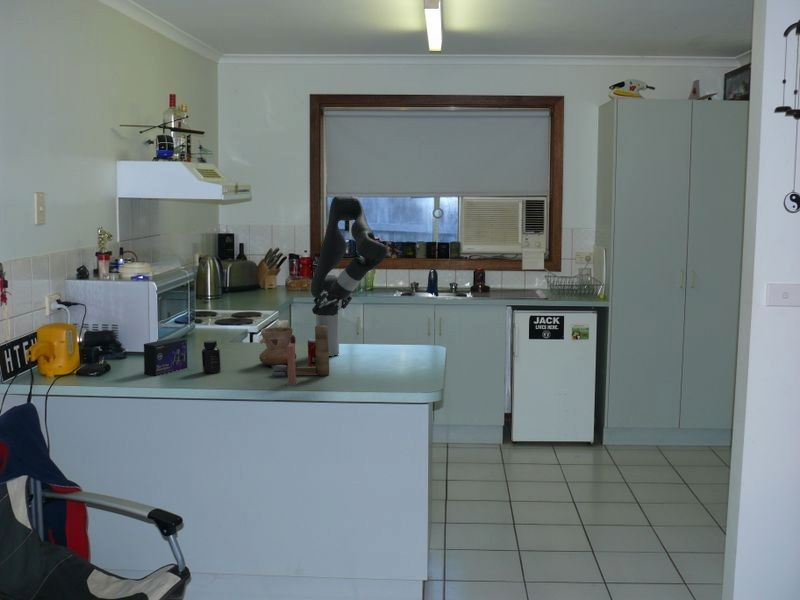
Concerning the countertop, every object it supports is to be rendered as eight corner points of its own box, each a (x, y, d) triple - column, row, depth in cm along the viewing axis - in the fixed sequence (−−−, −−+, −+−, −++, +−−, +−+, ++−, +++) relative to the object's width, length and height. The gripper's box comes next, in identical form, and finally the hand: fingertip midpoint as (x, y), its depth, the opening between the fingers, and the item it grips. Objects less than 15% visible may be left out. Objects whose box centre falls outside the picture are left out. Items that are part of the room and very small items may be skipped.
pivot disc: (272, 374, 335) (272, 368, 335) (288, 373, 335) (288, 368, 335) (270, 377, 330) (270, 372, 329) (286, 377, 330) (286, 372, 329)
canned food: (310, 369, 343) (309, 341, 341) (306, 365, 350) (306, 337, 349) (329, 368, 345) (329, 340, 343) (326, 364, 352) (325, 336, 351)
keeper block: (289, 381, 323) (287, 343, 321) (297, 381, 323) (296, 343, 321) (286, 385, 316) (285, 346, 314) (295, 385, 316) (294, 346, 314)
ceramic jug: (273, 370, 342) (272, 334, 340) (249, 365, 351) (248, 330, 349) (308, 362, 355) (307, 327, 353) (284, 358, 365) (283, 324, 363)
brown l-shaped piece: (273, 373, 335) (272, 326, 333) (329, 372, 335) (328, 325, 333) (271, 376, 330) (270, 328, 327) (328, 375, 330) (327, 327, 327)
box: (156, 376, 334) (154, 345, 333) (143, 374, 338) (142, 343, 336) (188, 368, 349) (187, 338, 347) (176, 366, 352) (175, 336, 351)
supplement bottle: (222, 370, 344) (221, 339, 342) (219, 374, 337) (218, 342, 335) (204, 370, 344) (203, 339, 342) (201, 374, 337) (199, 343, 335)
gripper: (356, 277, 328) (332, 307, 335) (327, 273, 318) (303, 304, 325) (364, 292, 324) (340, 322, 331) (336, 288, 314) (311, 319, 321)
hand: (322, 313), depth 328 cm, fingers open, 8 cm apart
